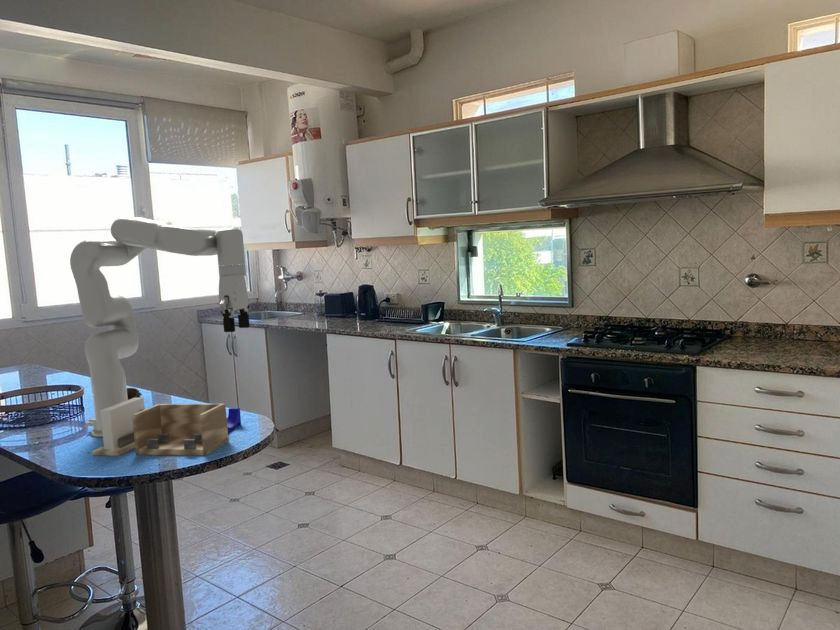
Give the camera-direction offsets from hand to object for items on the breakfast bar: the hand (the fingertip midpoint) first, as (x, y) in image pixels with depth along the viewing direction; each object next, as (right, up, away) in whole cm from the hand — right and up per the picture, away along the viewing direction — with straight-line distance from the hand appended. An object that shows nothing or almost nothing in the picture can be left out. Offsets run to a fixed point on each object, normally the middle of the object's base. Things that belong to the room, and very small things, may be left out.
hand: (237, 329), depth 186 cm
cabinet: (-12, -33, -10) cm, 36 cm away
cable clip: (-5, -31, +5) cm, 32 cm away
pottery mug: (-53, -30, +45) cm, 76 cm away
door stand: (-30, -33, -5) cm, 45 cm away
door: (-30, -32, -5) cm, 44 cm away
